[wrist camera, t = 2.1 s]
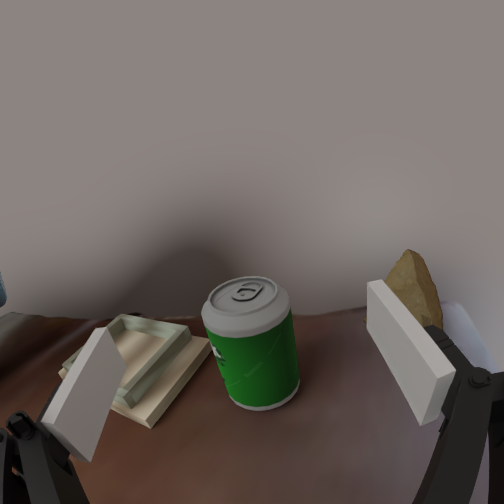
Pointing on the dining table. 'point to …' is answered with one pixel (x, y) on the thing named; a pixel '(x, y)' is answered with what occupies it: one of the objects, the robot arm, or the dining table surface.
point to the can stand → (151, 365)
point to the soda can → (253, 341)
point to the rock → (415, 289)
